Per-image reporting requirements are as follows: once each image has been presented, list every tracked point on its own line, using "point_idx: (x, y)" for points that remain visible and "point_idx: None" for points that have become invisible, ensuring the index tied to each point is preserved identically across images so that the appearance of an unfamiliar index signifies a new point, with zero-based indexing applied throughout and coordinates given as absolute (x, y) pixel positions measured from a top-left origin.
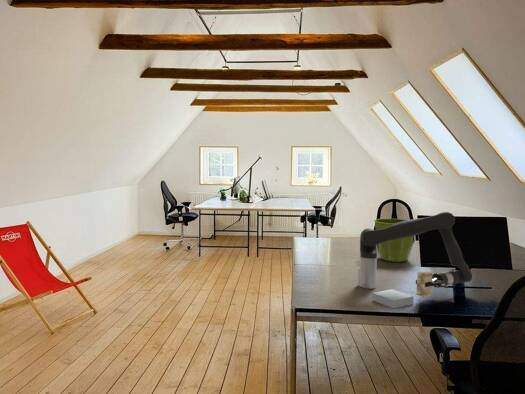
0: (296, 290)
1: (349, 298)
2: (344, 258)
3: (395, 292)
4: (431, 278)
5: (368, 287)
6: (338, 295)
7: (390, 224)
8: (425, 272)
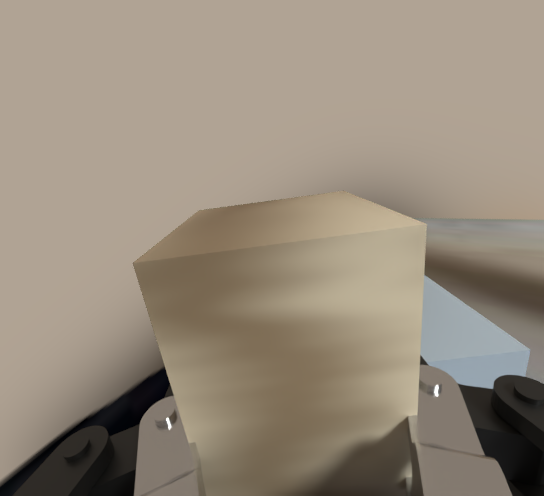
0: (514, 219)
1: (439, 264)
2: None
3: (421, 330)
4: (176, 378)
5: None
6: (477, 254)
7: None
8: (261, 217)
